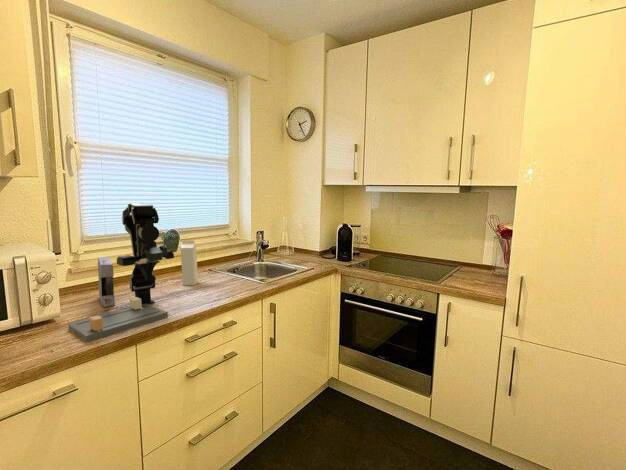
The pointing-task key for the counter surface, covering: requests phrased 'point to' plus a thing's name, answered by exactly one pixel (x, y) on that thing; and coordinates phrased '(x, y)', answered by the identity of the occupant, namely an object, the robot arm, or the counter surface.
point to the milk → (189, 263)
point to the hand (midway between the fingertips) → (148, 280)
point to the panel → (118, 322)
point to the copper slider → (96, 323)
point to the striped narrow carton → (106, 282)
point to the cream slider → (135, 303)
